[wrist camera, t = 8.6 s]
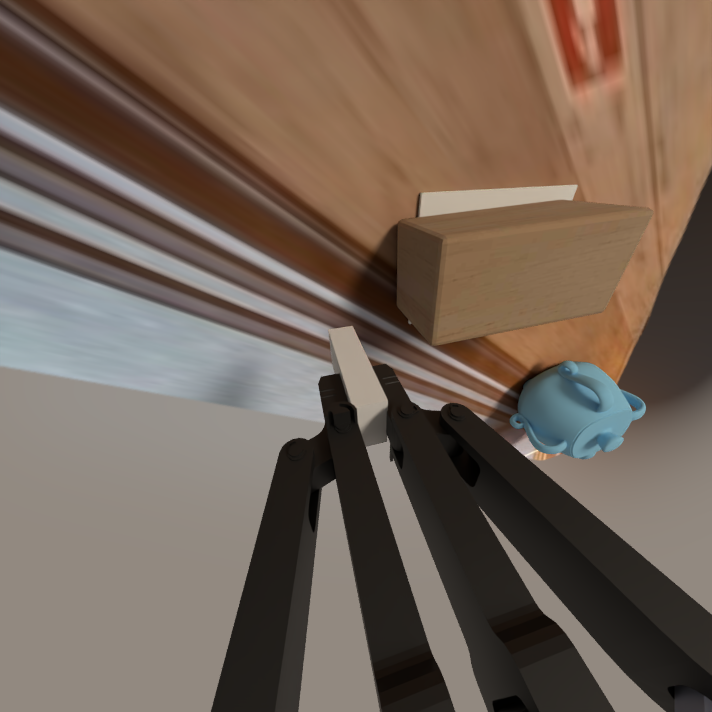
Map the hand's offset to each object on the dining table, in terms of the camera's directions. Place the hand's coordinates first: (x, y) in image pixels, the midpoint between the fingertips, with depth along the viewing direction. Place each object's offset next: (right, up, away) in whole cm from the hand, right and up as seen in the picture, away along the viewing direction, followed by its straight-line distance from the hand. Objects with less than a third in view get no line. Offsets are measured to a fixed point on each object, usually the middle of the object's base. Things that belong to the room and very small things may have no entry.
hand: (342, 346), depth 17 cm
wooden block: (+6, +7, +10) cm, 14 cm away
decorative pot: (+37, -7, +35) cm, 51 cm away
